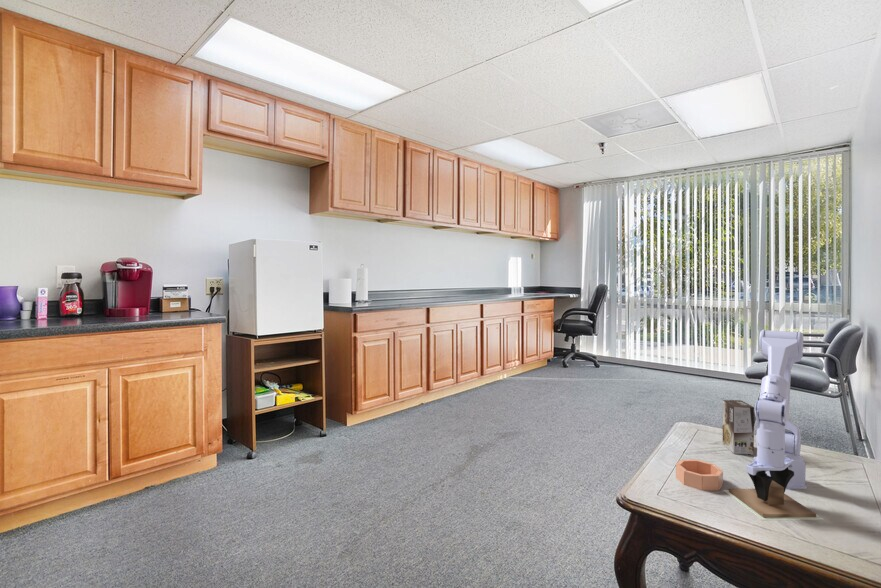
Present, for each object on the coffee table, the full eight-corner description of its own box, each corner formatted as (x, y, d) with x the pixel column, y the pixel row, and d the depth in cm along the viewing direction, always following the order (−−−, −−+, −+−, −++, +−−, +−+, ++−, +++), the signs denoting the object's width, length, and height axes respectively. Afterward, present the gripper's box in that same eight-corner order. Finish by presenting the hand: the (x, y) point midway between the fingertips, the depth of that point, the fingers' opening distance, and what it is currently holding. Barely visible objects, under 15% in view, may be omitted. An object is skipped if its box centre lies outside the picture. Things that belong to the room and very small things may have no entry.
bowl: (706, 473, 133) (706, 459, 133) (730, 491, 122) (730, 475, 122) (670, 474, 133) (670, 459, 133) (690, 492, 122) (690, 476, 122)
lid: (776, 491, 121) (776, 472, 121) (816, 517, 108) (816, 495, 108) (728, 491, 121) (729, 472, 121) (762, 517, 108) (763, 496, 108)
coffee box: (754, 455, 146) (755, 407, 146) (733, 454, 147) (733, 406, 147) (741, 444, 155) (742, 399, 154) (721, 443, 156) (722, 399, 156)
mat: (777, 491, 122) (777, 489, 122) (823, 521, 107) (823, 519, 107) (723, 491, 122) (723, 490, 122) (761, 521, 107) (761, 519, 107)
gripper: (775, 437, 120) (775, 486, 120) (735, 443, 116) (734, 494, 116) (803, 446, 113) (802, 498, 114) (761, 454, 109) (760, 507, 109)
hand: (770, 497), depth 114 cm, fingers closed on lid, 5 cm apart
